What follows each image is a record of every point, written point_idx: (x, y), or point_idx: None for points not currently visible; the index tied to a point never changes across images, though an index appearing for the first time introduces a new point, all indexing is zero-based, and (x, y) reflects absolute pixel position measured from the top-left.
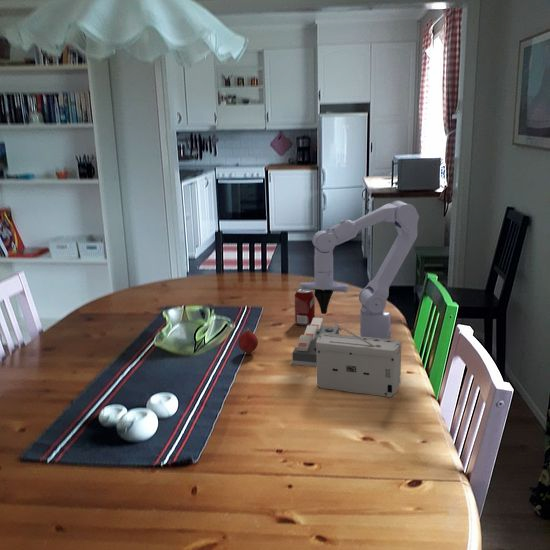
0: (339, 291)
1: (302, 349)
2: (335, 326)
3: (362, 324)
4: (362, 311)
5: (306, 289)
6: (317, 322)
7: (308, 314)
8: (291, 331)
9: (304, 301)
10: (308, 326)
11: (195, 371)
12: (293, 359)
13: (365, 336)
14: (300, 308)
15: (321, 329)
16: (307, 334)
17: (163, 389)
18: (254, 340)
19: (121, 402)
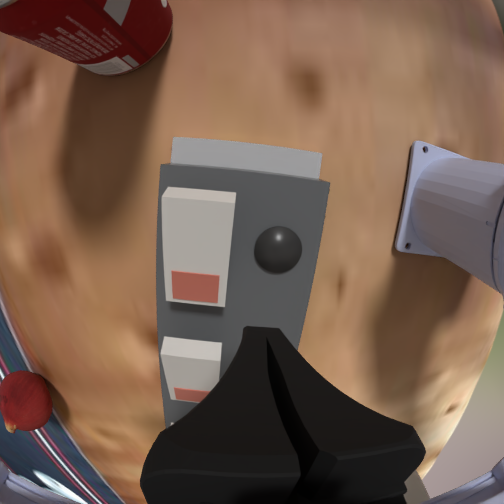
0: (449, 497)
1: None
2: (310, 180)
3: (453, 253)
4: (500, 276)
5: (43, 497)
6: (202, 250)
7: (123, 48)
8: (77, 155)
9: (56, 32)
10: (170, 359)
11: (19, 432)
12: None
13: (432, 249)
14: (60, 53)
15: (231, 240)
16: (184, 393)
17: (31, 466)
18: (42, 424)
19: (23, 475)
